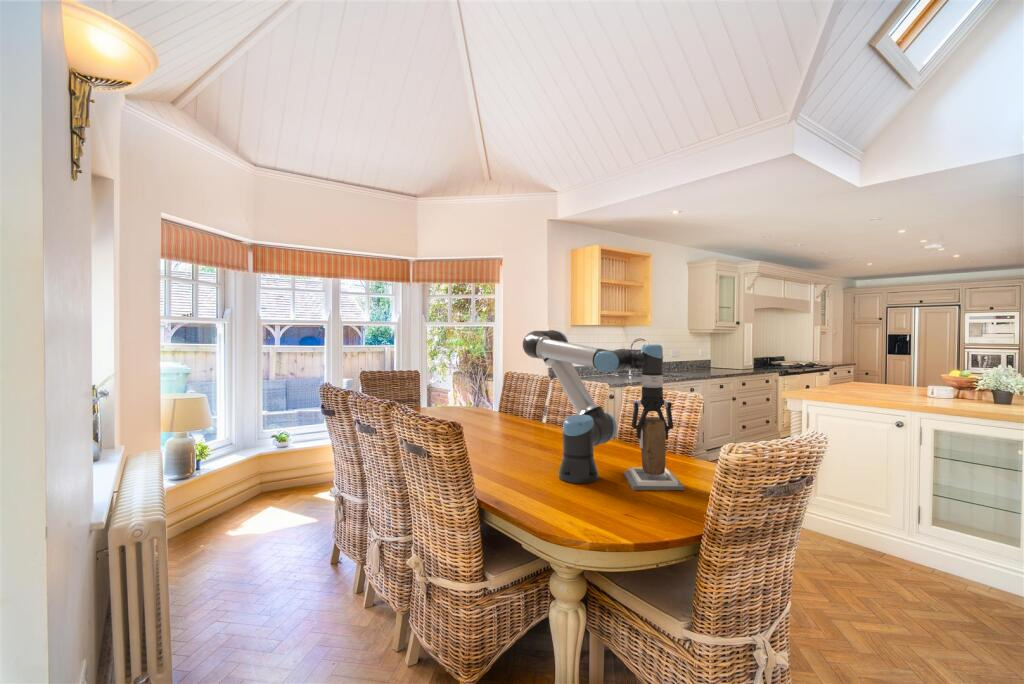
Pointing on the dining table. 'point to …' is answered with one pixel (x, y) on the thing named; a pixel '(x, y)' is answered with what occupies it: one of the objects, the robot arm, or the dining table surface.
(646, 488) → the base plate
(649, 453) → the block
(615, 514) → the dining table surface
